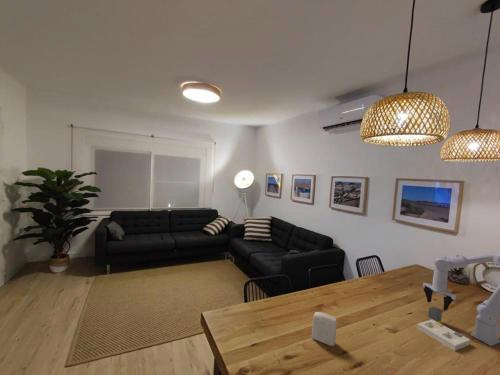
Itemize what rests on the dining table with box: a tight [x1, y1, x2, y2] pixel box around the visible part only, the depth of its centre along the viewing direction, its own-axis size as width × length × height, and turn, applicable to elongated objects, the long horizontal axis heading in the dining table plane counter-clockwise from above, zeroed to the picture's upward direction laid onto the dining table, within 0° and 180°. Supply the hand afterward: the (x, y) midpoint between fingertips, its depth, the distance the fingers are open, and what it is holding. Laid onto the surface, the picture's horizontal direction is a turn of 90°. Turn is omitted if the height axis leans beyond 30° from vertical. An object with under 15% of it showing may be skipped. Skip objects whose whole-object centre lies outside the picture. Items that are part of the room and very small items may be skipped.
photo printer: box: [311, 311, 338, 347], centre depth 105 cm, size 10×4×12 cm, turn 61°
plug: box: [427, 306, 443, 324], centre depth 126 cm, size 4×4×7 cm
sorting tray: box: [416, 319, 471, 352], centre depth 114 cm, size 12×16×3 cm
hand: (437, 305), depth 124 cm, fingers open, 7 cm apart
